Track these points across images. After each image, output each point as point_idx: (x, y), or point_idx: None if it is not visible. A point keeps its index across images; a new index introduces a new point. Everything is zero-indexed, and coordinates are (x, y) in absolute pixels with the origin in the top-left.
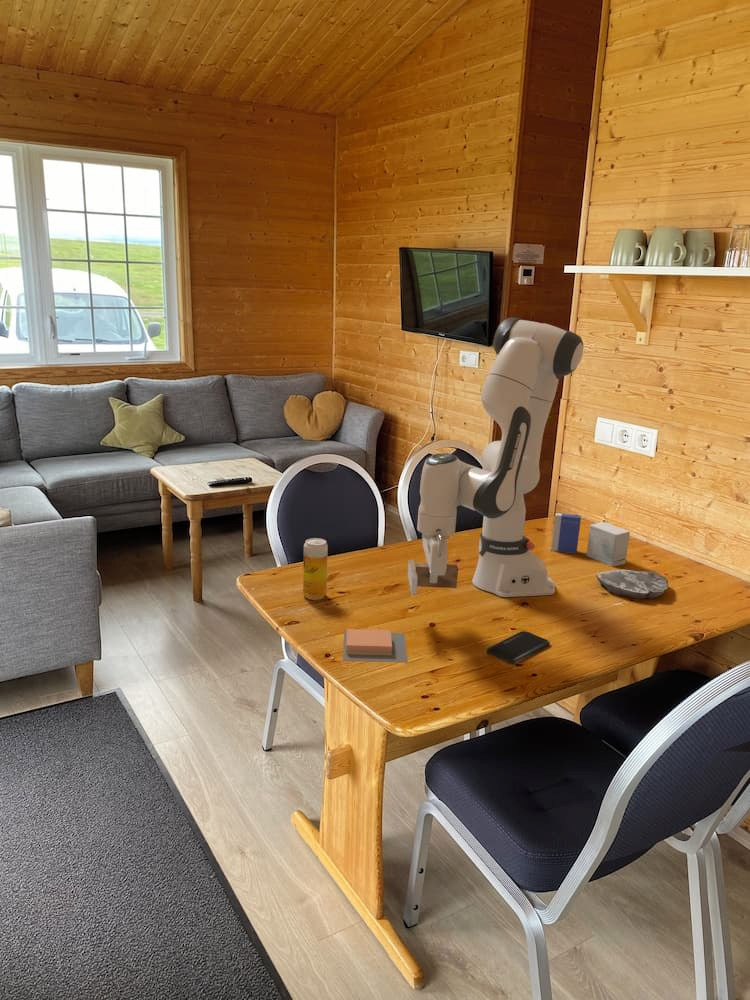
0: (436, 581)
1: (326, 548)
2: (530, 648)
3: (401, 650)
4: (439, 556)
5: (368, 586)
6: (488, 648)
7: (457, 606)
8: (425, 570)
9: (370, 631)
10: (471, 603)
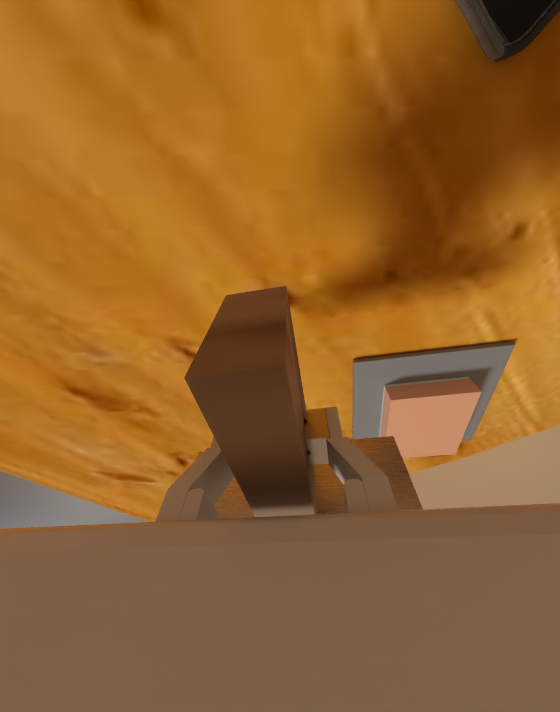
0: (337, 412)
1: None
2: None
3: (448, 360)
4: (182, 522)
5: (126, 433)
6: (505, 47)
7: (106, 223)
8: (313, 494)
9: (396, 430)
10: (40, 161)
